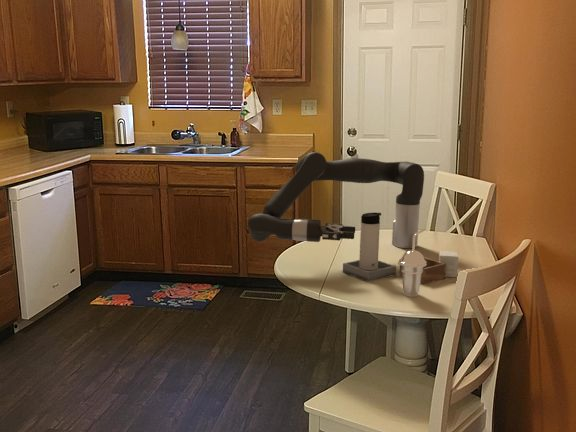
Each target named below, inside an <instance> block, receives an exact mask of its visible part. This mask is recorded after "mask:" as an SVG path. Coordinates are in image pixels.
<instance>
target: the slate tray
mask: <svg viewBox="0 0 576 432" xmlns="http://www.w3.org/2000/svg"><path fill="white" fill-rule="evenodd" d="M342 273H345V274H347V275H350V276H353V277H356V278H358V279H360V280H364V281H367V282H371V281H375V280H381V279H384V278H390V277H391V276H396V273H397V266H396V265H393V264H391V263H386V262H385V261H381V260H378V270H373V271H366V270H363V269H360V268H359V259H358V260H353V261H348V262H343V263H342Z"/></svg>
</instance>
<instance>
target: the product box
mask: <svg viewBox="0 0 576 432" xmlns="http://www.w3.org/2000/svg"><path fill="white" fill-rule="evenodd" d="M438 255H439V256H438V262H442V263H445V264H446V275H445V278H446V277H447V278H458V269H459V268H458V267H459V254H458V252H456V251H443V250H440V251H439V254H438Z"/></svg>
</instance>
